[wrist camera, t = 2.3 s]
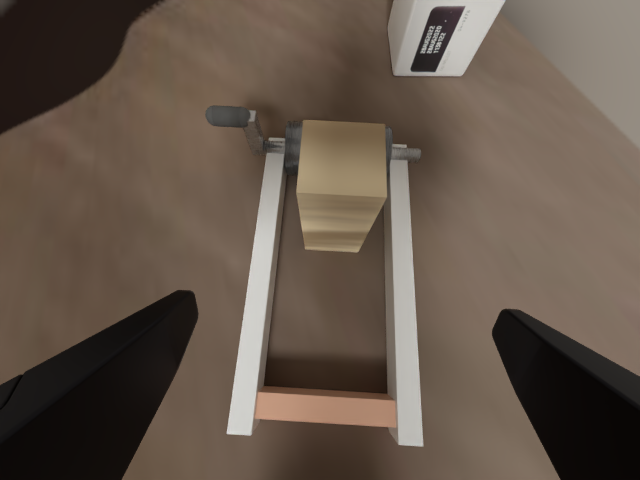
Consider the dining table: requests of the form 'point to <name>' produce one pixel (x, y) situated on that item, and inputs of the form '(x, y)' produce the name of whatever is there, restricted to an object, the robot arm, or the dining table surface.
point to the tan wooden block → (340, 183)
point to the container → (438, 34)
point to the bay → (249, 390)
